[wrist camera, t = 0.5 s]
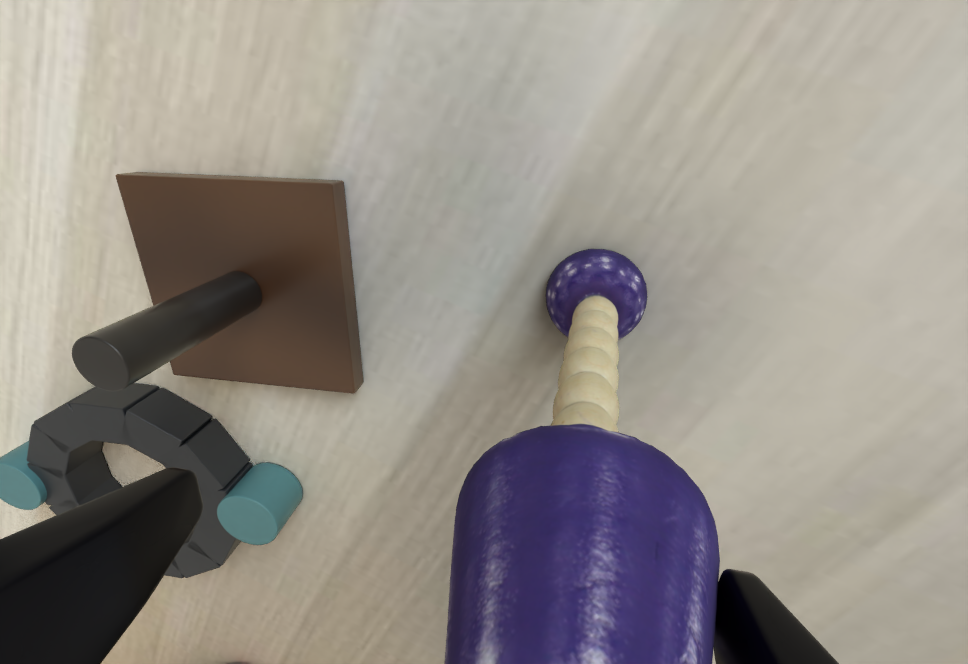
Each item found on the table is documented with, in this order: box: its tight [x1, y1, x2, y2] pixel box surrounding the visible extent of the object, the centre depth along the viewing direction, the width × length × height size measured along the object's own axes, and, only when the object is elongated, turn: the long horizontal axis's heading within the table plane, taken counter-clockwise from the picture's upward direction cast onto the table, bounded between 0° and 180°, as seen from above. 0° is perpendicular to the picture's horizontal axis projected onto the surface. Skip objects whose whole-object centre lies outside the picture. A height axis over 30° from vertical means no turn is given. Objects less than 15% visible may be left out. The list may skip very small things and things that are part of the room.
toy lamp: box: [445, 249, 720, 664], centre depth 13 cm, size 5×5×17 cm
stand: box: [72, 172, 363, 393], centre depth 19 cm, size 10×10×8 cm
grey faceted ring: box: [0, 383, 303, 578], centre depth 28 cm, size 13×19×3 cm
